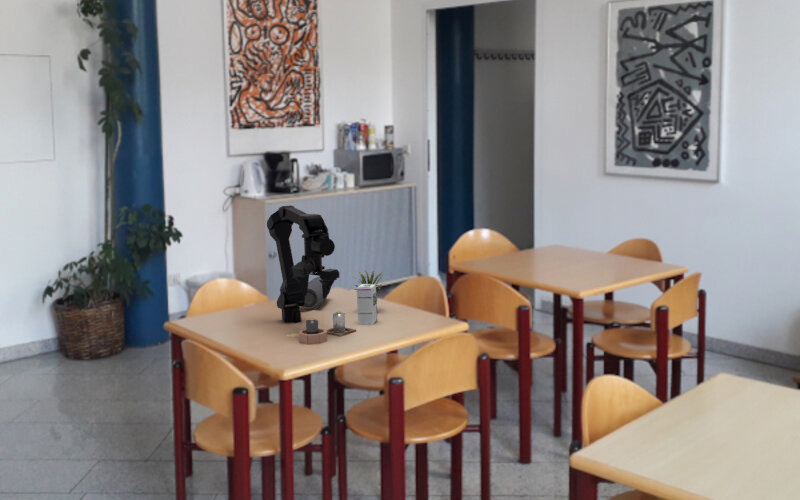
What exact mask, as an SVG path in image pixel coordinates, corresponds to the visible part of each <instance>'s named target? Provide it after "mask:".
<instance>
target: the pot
mask: <svg viewBox="0 0 800 500" xmlns="http://www.w3.org/2000/svg"><path fill="white" fill-rule="evenodd" d="M326 330H327V328H323V329H322V328H318V333H319V334H306V328H304V329H300V330H298V333H299V336H298V338H299V340H298V343H300V344H305V345H318V344H322V343H326V342H328V334H327V331H326Z"/></svg>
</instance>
